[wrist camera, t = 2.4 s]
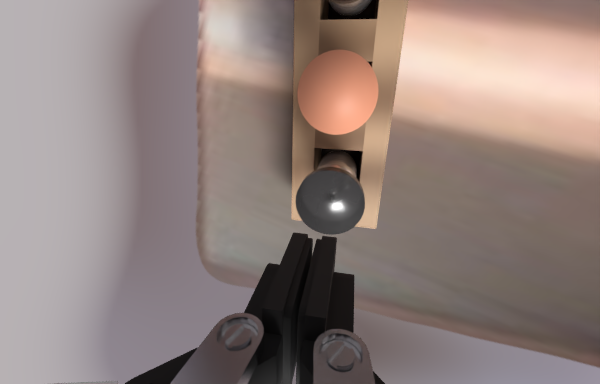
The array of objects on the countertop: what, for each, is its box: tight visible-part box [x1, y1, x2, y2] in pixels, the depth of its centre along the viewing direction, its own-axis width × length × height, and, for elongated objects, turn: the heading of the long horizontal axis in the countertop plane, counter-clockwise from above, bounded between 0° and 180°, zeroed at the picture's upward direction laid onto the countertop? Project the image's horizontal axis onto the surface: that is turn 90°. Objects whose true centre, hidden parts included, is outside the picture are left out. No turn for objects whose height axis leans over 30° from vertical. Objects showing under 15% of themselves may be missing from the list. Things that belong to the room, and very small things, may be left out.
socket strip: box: [292, 0, 408, 229], centre depth 22 cm, size 21×7×5 cm, turn 179°
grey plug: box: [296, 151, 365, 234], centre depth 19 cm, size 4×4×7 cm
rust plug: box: [297, 50, 378, 135], centre depth 17 cm, size 4×4×7 cm
